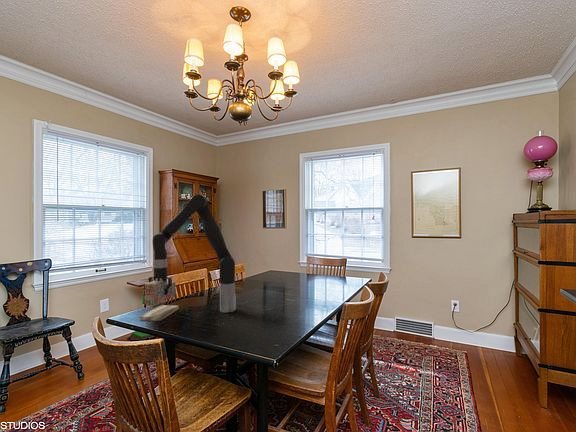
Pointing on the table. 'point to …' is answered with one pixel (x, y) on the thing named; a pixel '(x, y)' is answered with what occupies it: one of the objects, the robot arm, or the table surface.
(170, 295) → the stack of blocks
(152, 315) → the birch board
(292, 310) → the table surface
